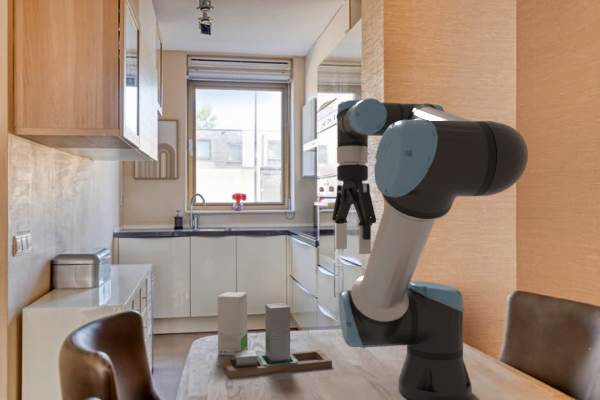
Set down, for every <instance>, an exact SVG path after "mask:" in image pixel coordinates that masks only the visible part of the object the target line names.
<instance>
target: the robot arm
mask: <svg viewBox="0 0 600 400" xmlns="http://www.w3.org/2000/svg"><path fill="white" fill-rule="evenodd" d="M336 122H337V123H336V126H337V127H336V128H337V129H336V130H337V131H336V134H337V135H336V136H337V137H336V139H337V141H336V142H337V145H336V163H337V164H338V165H337V167H336V168H337V170H336V171H337V172H336V175H337V176H336V179H337V181H339V182H342V185H341V184H338V185H337V186H336V195H335V196H336V197H335V200H334V201H335V202H334V206H333V210H332V211H333V212H332V215H331V216H332V217H331V220H332V221H334V223H335V250H347V249H348V231H347V230H348V220H347V217H348V216H349V213H350V208H351V206H352V205H353V206H354V210H355V212H356V214H357V217H358V221H359V222H358V224H357V225H358V255H366V254H367V255H368V254H370V255H369V258H368V261H367V265H366V268H365V270H364V274H363V275H361V276H359V277H358V278H357V279H356V280H355V281H354V283H353V284H352V287H351V289H350V290H349V289H344V290H341V291H340V292H339V294H338V313H339V314H338V315H339V321H340V328H341V333H342V337H343V340H344V342H345V344H346V345H347V346H348V347H351V348H362V349H366V348H377V347H378V348H380V347H398V346H406V356H405V359H404V361H403V364H402V368H401V372H400V374H399V376H398V392H399V393H400V394H401V395H402V396H404V397H405V398H407V399H408V400H471V399H472V396H473V392H472V391H473V390H472V389H473V387H472V386H473V385H472V382H471V379H470V376H469V373H468V370H467V366H466V364H465V361H464V313H465V307H464V296H463V294H462V292H461V291H460V290H459V289H457V288H456V287H453V286H450V285H445V284H441V283H435V282H430V281H429V282H428V281H422V280H412V278H413V276H414V273H415V271H416V269H417V266H418V264H419V261H420V258H421V255H422V253H423V251H424V248H425V246H426V244H427V241H428V239H429V237H430V234H431V232H432V229H433V226H434V224H435V222H436V220H438V219H441V218H443V217H445V216H446V215H447V214H448V213H449V212H450V210H451V208H452V206H453V204H454V202H455V199H456V198H457V197H488V196H489V197H490V196H493V195H497V194H499V193H502V192H504V191H506V190H509V188H511V187H513V185H515V184H516V183H518V180H519V179H520V178H521V177H522V176H523V174H524V172H525V170H526V168H527V165H528V160H529V151H528V146H527V142H526V141H525V139H524V137H523V136H522V134H521V133H520V132H519V131H518V130H516V129H515V128H514V127H512V126H509V125H507V124H504V123H501V122H496V121H492V120H484V121H483V120H475V121H474V120H472V119H471V120H470V119H468V118H464V117H461V116H458V115H455V114H452V113H448V112H447V111H445V110H444V108H443V106H442V105H440V104H432V103H426V102H425V103H400V102H382V101H379V100H377V99H376V98H371V97H369V98H364V99H361V100H359V99H350V100H349V99H347V100H344V101H341V102H339V103H338V105H337V113H336ZM370 136H373V137H381V138H380V141H379V142H378V146H377V148H376V149H377V150H376V153H375V164H374V179H375V180H374V181H375V183H376V184H375V185H376V187H377V189H378V190H379V192H380V194H381V196H382V199H383V200H384V202H385V205H384V207H383V212H382V216H381V219H380V221H379V225H378V228H377V232H376V235H375V238H374V241H373V245H372V226H373V224H376V222H377V218H376V213H375V210H374V209H375V208H374V203H373V200H372V196H371V188H370V183H365V181H368V179H369V167H368V166H367V165H366V164H368V161H369V159H368V156H369V154H370V153H369V150H368V147H369V144H368V143H369V141H368V139H369V138H368V137H370ZM363 182H364V183H363Z"/></svg>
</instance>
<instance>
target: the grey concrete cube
mask: <svg viewBox="0 0 600 400" xmlns="http://www.w3.org/2000/svg"><path fill="white" fill-rule="evenodd" d="M257 356H258V354H257V353H256V351H255V349H246V350H243V351H234V356H233V358H234V366H233V367H234V369H236V368H247V367H257Z"/></svg>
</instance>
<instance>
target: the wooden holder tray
mask: <svg viewBox="0 0 600 400" xmlns="http://www.w3.org/2000/svg"><path fill="white" fill-rule="evenodd" d="M306 359H316V360H310V361H301V362H300V361H299V360H306ZM222 363H223V364H222V365H223V367H224V369H225V372H226V374H227V375H228V378H229V379H231V378H239V377H247V376H257V375H258V376H260V375H265V374H269V375H270V374H278V373H284V372H286V373H288V372H295V371H296V372H298V371H305V370H307V371H308V370H314V369H315V370H316V369H326V368H333V360H332V359H331V358H329V356H327V354H325V353H323V352H322V350H321V349H315V350H307V351H294V352H293V351H292V352H290V362H285V363H275V364H267V363H266V361H265V354H264V353H263V354H258V355H257V367H247V368H236V369H235V368H234V357H229V358H223V361H222Z"/></svg>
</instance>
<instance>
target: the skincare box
mask: <svg viewBox="0 0 600 400" xmlns="http://www.w3.org/2000/svg"><path fill="white" fill-rule="evenodd" d="M248 340H249V339H248V292H246V291H239V292H238V291H236V292H235V291H233V292H232V291H226V292H225V293H224V292H223V293H221V294H219V295H217V355H219V356H228V357H229V356H232V357H234V351H243V350H248V346H249V345H248V342H249V341H248Z"/></svg>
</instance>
